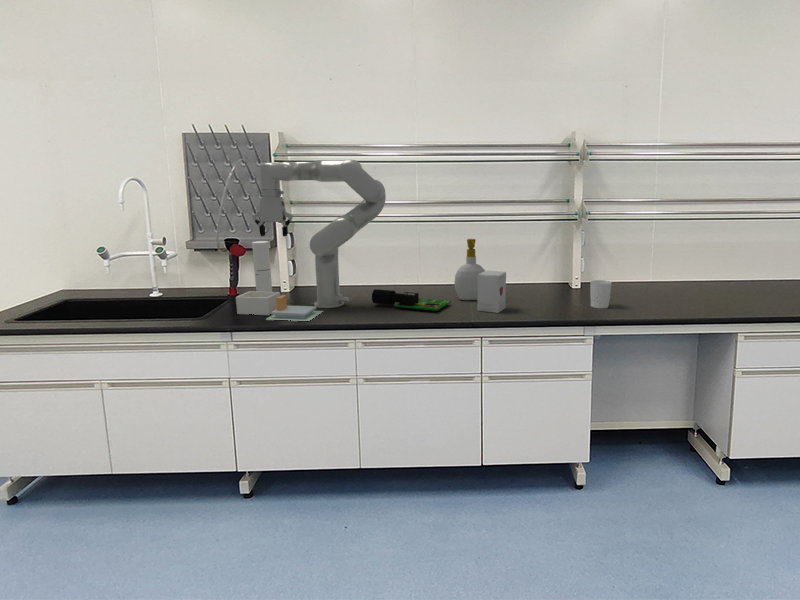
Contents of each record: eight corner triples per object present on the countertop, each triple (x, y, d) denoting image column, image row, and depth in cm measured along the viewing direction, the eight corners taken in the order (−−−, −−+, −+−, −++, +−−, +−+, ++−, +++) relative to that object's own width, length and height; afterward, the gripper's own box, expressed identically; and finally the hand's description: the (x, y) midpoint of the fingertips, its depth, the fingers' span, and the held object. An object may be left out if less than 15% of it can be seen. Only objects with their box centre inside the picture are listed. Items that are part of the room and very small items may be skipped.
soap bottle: (456, 302, 233) (456, 241, 227) (452, 298, 242) (452, 238, 236) (490, 301, 235) (491, 239, 229) (484, 296, 243) (485, 237, 237)
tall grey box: (268, 298, 251) (264, 243, 245) (254, 297, 252) (249, 243, 247) (275, 294, 258) (271, 241, 252) (260, 294, 259) (256, 241, 253)
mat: (323, 312, 224) (323, 311, 224) (309, 322, 210) (308, 321, 210) (282, 310, 228) (282, 309, 228) (265, 320, 214) (265, 319, 214)
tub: (281, 308, 231) (279, 292, 230) (269, 315, 221) (267, 298, 219) (250, 307, 235) (249, 291, 233) (237, 314, 224) (235, 297, 223)
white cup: (601, 310, 216) (602, 284, 214) (584, 306, 223) (586, 281, 220) (614, 307, 220) (615, 282, 218) (597, 303, 227) (599, 279, 224)
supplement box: (498, 313, 215) (499, 275, 212) (476, 311, 219) (477, 273, 216) (506, 308, 223) (506, 271, 219) (485, 306, 227) (485, 270, 224)
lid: (316, 312, 222) (315, 294, 221) (305, 319, 212) (304, 300, 210) (283, 310, 226) (282, 293, 224) (270, 318, 215) (269, 299, 213)
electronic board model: (451, 288, 229) (437, 296, 216) (451, 305, 230) (437, 313, 217) (386, 284, 242) (370, 291, 229) (387, 299, 243) (370, 307, 230)
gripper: (294, 193, 228) (297, 235, 232) (255, 193, 231) (258, 234, 235) (287, 194, 220) (290, 237, 224) (247, 194, 224) (250, 237, 228)
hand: (274, 236), depth 230 cm, fingers open, 9 cm apart
